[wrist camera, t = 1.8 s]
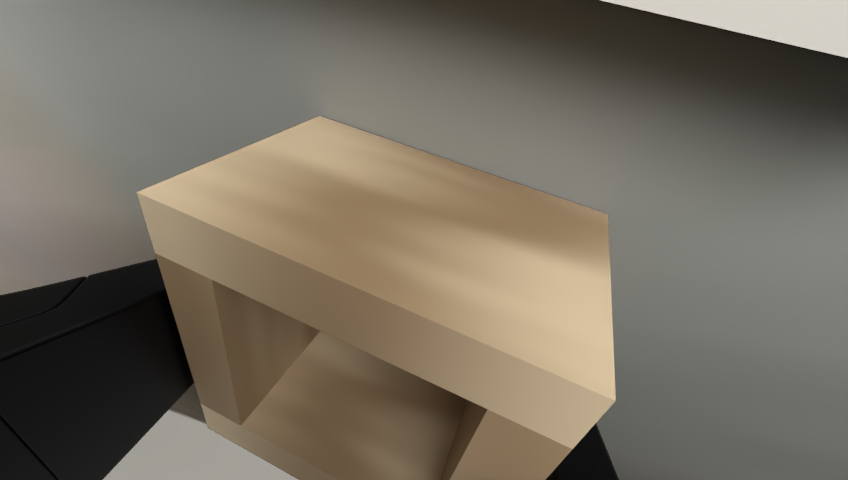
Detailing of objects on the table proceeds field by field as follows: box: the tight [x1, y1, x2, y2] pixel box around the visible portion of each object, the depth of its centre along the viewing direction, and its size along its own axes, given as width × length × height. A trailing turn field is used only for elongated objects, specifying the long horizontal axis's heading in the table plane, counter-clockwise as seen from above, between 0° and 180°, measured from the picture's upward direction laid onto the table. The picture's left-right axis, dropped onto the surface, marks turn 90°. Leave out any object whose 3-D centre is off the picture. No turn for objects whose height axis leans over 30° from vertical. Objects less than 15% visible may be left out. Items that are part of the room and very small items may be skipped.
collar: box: [137, 116, 616, 480], centre depth 8 cm, size 6×6×4 cm
